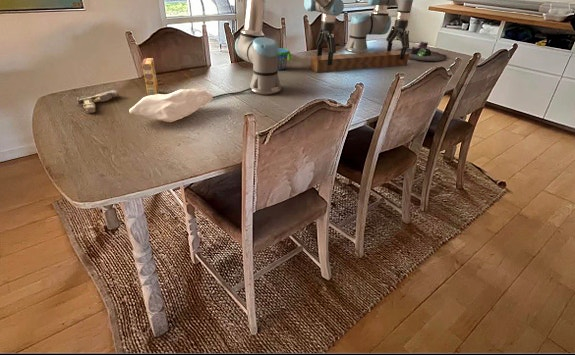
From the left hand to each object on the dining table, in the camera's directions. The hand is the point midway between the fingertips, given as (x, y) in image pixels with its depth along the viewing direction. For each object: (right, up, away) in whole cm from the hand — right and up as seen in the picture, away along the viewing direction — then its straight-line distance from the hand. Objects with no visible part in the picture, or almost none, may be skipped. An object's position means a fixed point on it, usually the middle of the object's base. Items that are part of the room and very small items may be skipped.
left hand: (324, 61), depth 209 cm
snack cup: (-26, -4, +1) cm, 26 cm away
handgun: (-101, -35, -53) cm, 119 cm away
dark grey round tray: (+69, +17, +39) cm, 81 cm away
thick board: (+23, +1, +11) cm, 25 cm away
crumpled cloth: (-68, -40, -59) cm, 99 cm away
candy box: (-83, -29, -42) cm, 97 cm away
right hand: (+46, +9, +17) cm, 49 cm away
